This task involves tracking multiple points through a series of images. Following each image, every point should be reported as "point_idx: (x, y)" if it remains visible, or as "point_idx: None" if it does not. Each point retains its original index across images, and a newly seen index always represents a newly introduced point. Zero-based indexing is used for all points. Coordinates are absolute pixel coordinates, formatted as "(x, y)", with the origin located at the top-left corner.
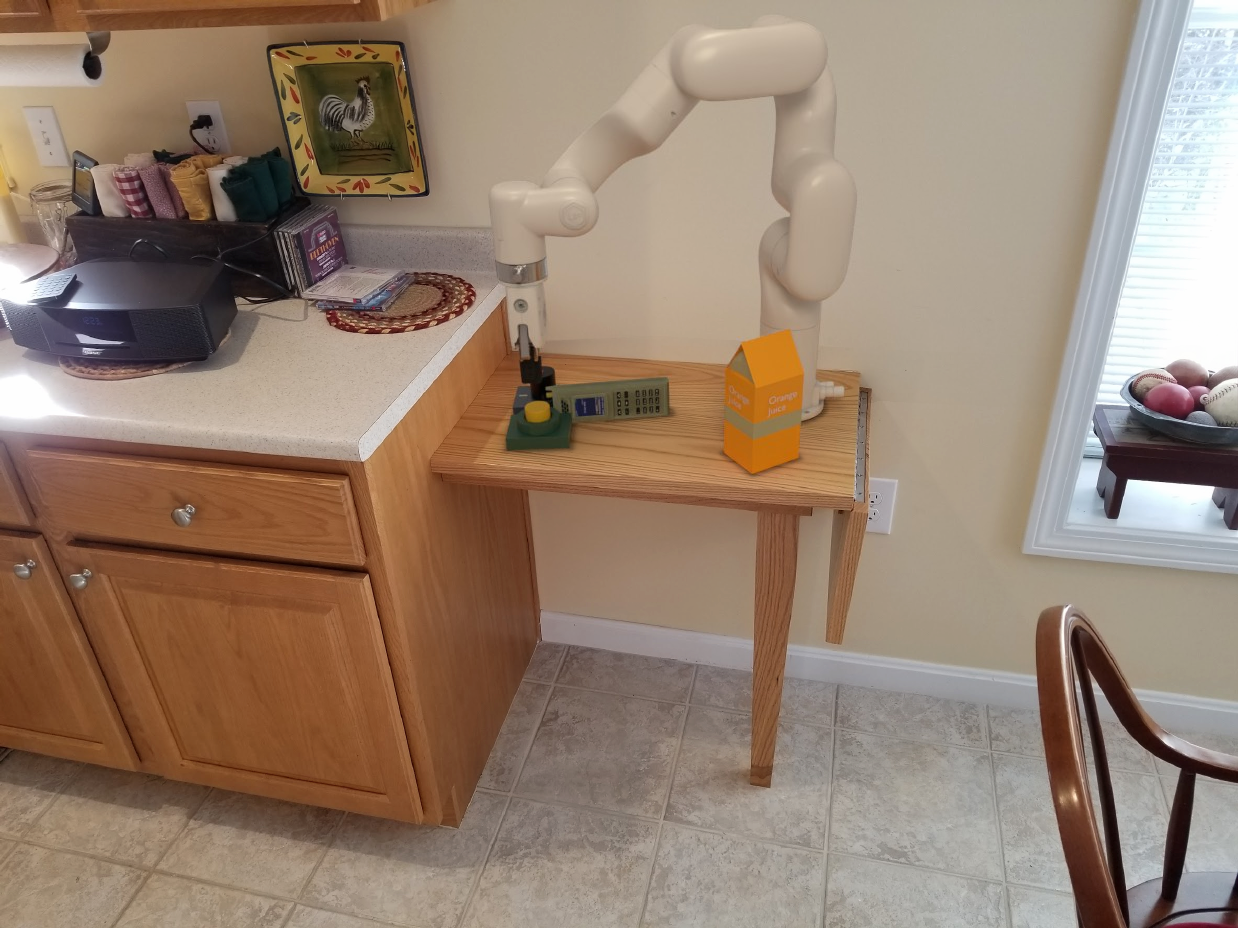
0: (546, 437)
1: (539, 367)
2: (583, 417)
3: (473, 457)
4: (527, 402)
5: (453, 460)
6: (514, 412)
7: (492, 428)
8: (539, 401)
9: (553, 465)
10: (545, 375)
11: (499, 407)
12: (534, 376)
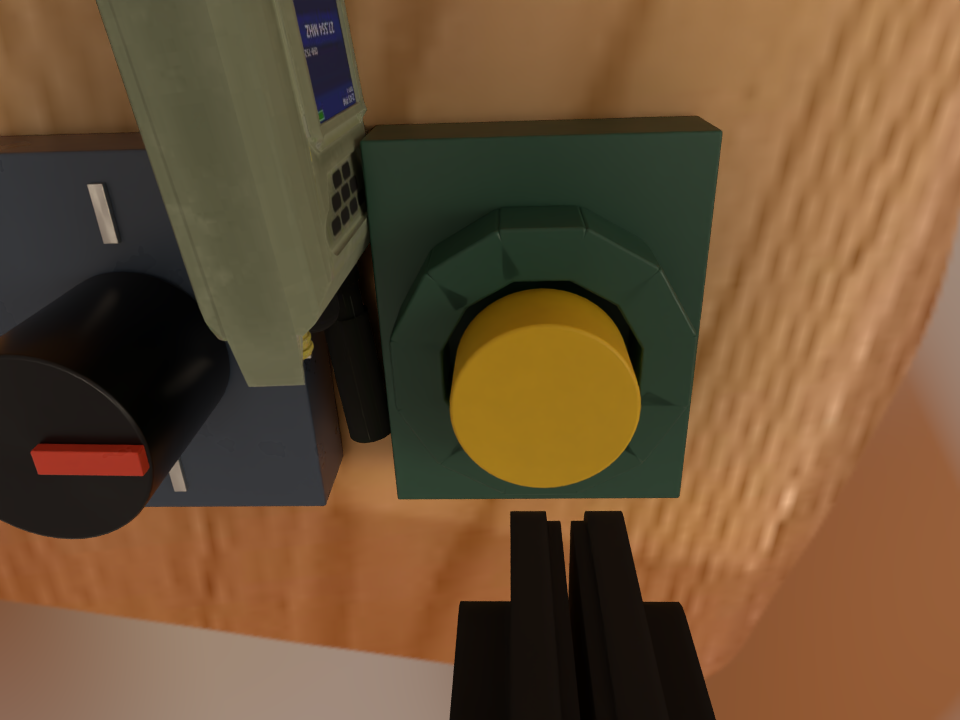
0: (704, 279)
1: (651, 668)
2: (350, 42)
3: (702, 577)
4: (257, 438)
5: (713, 641)
6: (332, 479)
7: (429, 537)
8: (461, 403)
9: (885, 197)
10: (109, 420)
11: (210, 533)
12: (688, 636)
